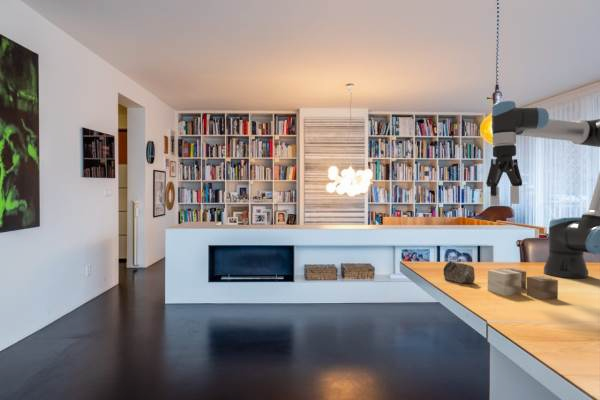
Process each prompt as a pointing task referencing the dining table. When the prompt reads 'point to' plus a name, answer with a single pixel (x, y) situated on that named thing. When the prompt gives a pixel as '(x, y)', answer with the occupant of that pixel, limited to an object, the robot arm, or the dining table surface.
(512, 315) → the dining table surface
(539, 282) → the marked block left
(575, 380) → the dining table surface
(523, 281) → the marked block near
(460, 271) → the stone
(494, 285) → the plain block
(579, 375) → the dining table surface
